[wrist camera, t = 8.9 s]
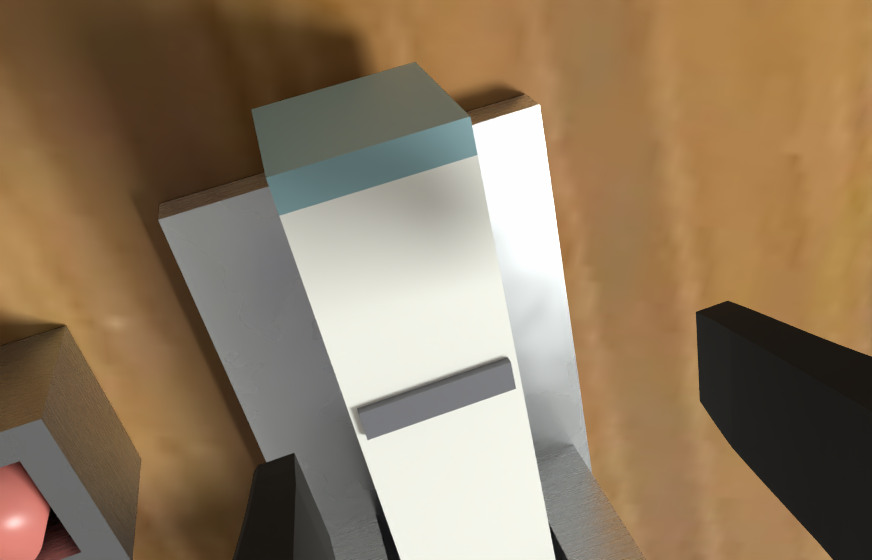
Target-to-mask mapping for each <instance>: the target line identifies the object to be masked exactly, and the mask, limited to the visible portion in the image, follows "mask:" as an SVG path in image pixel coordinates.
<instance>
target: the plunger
mask: <svg viewBox="0 0 872 560" xmlns="http://www.w3.org/2000/svg"><path fill="white" fill-rule="evenodd" d="M50 507H51V506H50V505H49V503H48V502H47V500H46V499H45V497H44V496H43V495H42V493H41V492H40V490H39V489H38V487H37V486H36V484H35V483H34V481H33V480H32V478H31V477H30V475H29V474H28V472H27V471H26V469H25V468H24V467H23V465H22V464H21V462H20V461H19V462H16V463H13V464H10V465H7V466H3V467H0V560H35V558H36V557H37V556H38V554H39V553H40V550H41V548H42V544H43V539H44V535H45V530H46V526H47V521H48V516H49V512H50Z"/></svg>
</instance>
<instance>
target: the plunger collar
mask: <svg viewBox="0 0 872 560" xmlns="http://www.w3.org/2000/svg"><path fill="white" fill-rule="evenodd" d="M19 461H20V462H21V464H22V465H23V467H24V468H25V469H26V471H27V472H28V474H29V475H30V477H31V478H32V480H33V481H34V483H35V484H36V486H37V487H38V489H39V490H40V492H41V493H42V495H43V496H44V497H45V499H46V500H47V502H48V503H49V505H50V506H51V507H50V512H49V516H48V521H47V526H46V530H45V535H44V539H43V544H42V548H41V550H40V553H39V554H38V556H37V557H36V558H35V560H133V548H134V537H135V525H136V514H137V502H138V490H139V479H140V467H141V458H140V456H139V454H138V453H137V451H136V449H135V447H134V445H133V444H132V442H131V440H130V438H129V437H128V435H127V433H126V431H125V429H124V428H123V426H122V424H121V422H120V421H119V419H118V417H117V415H116V413H115V412H114V410H113V408H112V406H111V405H110V403H109V401H108V399H107V398H106V396H105V394H104V392H103V390H102V389H101V387H100V385H99V383H98V382H97V380H96V378H95V376H94V374H93V373H92V371H91V369H90V367H89V366H88V364H87V362H86V360H85V358H84V357H83V355H82V353H81V351H80V350H79V348H78V346H77V344H76V343H75V341H74V339H73V337H72V335H71V334H70V332H69V330H68V328H67V327H66V326H63V327H60V328H57V329H54V330H50V331H47V332H44V333H41V334H38V335H34V336H31V337H28V338H25V339H22V340H19V341H15V342H12V343H9V344H6V345H3V346H0V467H3V466H7V465H10V464H13V463H16V462H19Z"/></svg>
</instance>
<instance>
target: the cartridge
mask: <svg viewBox="0 0 872 560" xmlns="http://www.w3.org/2000/svg"><path fill="white" fill-rule="evenodd" d="M251 111H252V115H253V120H254V125H255V129H256V134H257V139H258V143H259V148H260V153H261V157H262V162H263V167H264V172H265V176H266V180H267V183H268V185H269V188H270V191H271V194H272V197H273V200H274V202H275V205H276V208H277V211H278V214H279V217H280V219H281V222H282V225H283V228H284V231H285V234H286V236H287V239H288V242H289V245H290V248H291V251H292V253H293V256H294V259H295V262H296V265H297V268H298V270H299V273H300V276H301V279H302V282H303V285H304V287H305V290H306V293H307V296H308V299H309V302H310V304H311V307H312V310H313V313H314V316H315V319H316V321H317V324H318V327H319V330H320V333H321V336H322V338H323V341H324V344H325V347H326V350H327V353H328V355H329V358H330V361H331V364H332V367H333V370H334V372H335V375H336V378H337V381H338V384H339V387H340V389H341V392H342V395H343V398H344V401H345V404H346V406H347V409H348V412H349V415H350V418H351V421H352V423H353V426H354V429H355V432H356V435H357V438H358V440H359V443H360V446H361V449H362V452H363V455H364V457H365V460H366V463H367V466H368V469H369V472H370V474H371V477H372V480H373V483H374V486H375V489H376V491H377V494H378V497H379V500H380V503H381V506H382V508H383V511H384V514H385V517H386V520H387V523H388V525H389V528H390V531H391V534H392V537H393V540H394V542H395V545H396V548H397V551H398V554H399V556H400V559H401V560H555V555H554V549H553V544H552V539H551V534H550V529H549V523H548V518H547V513H546V508H545V503H544V497H543V492H542V487H541V482H540V476H539V471H538V466H537V461H536V456H535V450H534V445H533V440H532V435H531V430H530V424H529V419H528V414H527V409H526V404H525V398H524V393H523V388H522V383H521V378H520V372H519V367H518V362H517V357H516V352H515V346H514V341H513V336H512V331H511V326H510V320H509V315H508V310H507V305H506V300H505V294H504V289H503V284H502V279H501V273H500V268H499V263H498V258H497V253H496V247H495V242H494V237H493V232H492V227H491V221H490V216H489V211H488V206H487V201H486V195H485V190H484V185H483V180H482V175H481V169H480V164H479V159H478V154H477V149H476V143H475V138H474V133H473V128H472V123H471V117H470V116H469V115H468V114H467V113H466V112H465V111H464V110H463V109H462V108H461V107H460V106H459V105H458V104H457V103H456V102H455V101H454V100H453V99H452V98H451V97H450V96H449V95H448V94H447V93H446V92H445V91H444V90H443V89H442V88H441V87H440V86H439V85H438V84H437V83H436V82H435V81H434V80H433V79H432V78H431V77H430V76H429V75H428V74H427V73H426V72H425V71H424V70H423V69H422V68H421V67H420V66H419V65H418V64H417V63H416V62H413V63H410V64H406V65H403V66H399V67H396V68H392V69H389V70H385V71H382V72H379V73H375V74H372V75H368V76H365V77H361V78H358V79H354V80H351V81H347V82H344V83H341V84H337V85H334V86H330V87H327V88H323V89H320V90H316V91H313V92H309V93H306V94H302V95H299V96H296V97H292V98H289V99H285V100H282V101H278V102H275V103H271V104H268V105H264V106H261V107H257V108H254V109H251Z"/></svg>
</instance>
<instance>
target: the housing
mask: <svg viewBox="0 0 872 560" xmlns="http://www.w3.org/2000/svg"><path fill="white" fill-rule="evenodd" d="M466 113H467V114H468V115H469V116H470V117H471V123H472V128H473V133H474V138H475V143H476V149H477V154H478V159H479V164H480V169H481V175H482V180H483V185H484V190H485V195H486V201H487V206H488V211H489V216H490V221H491V227H492V232H493V237H494V242H495V247H496V253H497V258H498V263H499V268H500V273H501V279H502V284H503V289H504V294H505V300H506V305H507V310H508V315H509V320H510V326H511V331H512V336H513V341H514V346H515V352H516V357H517V362H518V367H519V372H520V378H521V383H522V388H523V393H524V398H525V404H526V409H527V414H528V419H529V424H530V430H531V435H532V440H533V445H534V450H535V456H536V461H537V466H538V471H539V476H540V482H541V487H542V492H543V497H544V503H545V508H546V513H547V518H548V523H549V529H550V534H551V539H552V544H553V549H554V555H555V560H646V559H645V557H644V556H643V554H642V552H641V551H640V549H639V548H638V546H637V544H636V543H635V541H634V540H633V538H632V537H631V535H630V533H629V532H628V530H627V529H626V527H625V525H624V524H623V522H622V521H621V519H620V518H619V516H618V514H617V513H616V511H615V510H614V508H613V506H612V505H611V503H610V502H609V500H608V498H607V497H606V495H605V494H604V492H603V491H602V489H601V487H600V486H599V484H598V483H597V481H596V479H595V478H594V476H593V475H592V471H591V464H590V457H589V450H588V442H587V435H586V428H585V421H584V414H583V407H582V400H581V393H580V386H579V379H578V372H577V365H576V358H575V351H574V344H573V337H572V329H571V322H570V315H569V308H568V301H567V294H566V287H565V280H564V273H563V266H562V259H561V252H560V245H559V238H558V231H557V224H556V216H555V209H554V202H553V195H552V188H551V181H550V174H549V167H548V160H547V153H546V146H545V139H544V132H543V125H542V118H541V111H540V105H539V104H538V103H537V102H536V101H534V100H533V99H532V98H530V97H529V96H528V95H526V94H525V95H522V96H518V97H515V98H512V99H508V100H505V101H502V102H498V103H495V104H492V105H488V106H485V107H481V108H478V109H475V110H471V111H468V112H466ZM158 221H159V223H160V225H161V228H162V230H163V232H164V234H165V236H166V239H167V241H168V243H169V245H170V248H171V250H172V252H173V254H174V257H175V259H176V261H177V263H178V266H179V268H180V270H181V272H182V274H183V277H184V279H185V281H186V283H187V286H188V288H189V290H190V292H191V295H192V297H193V299H194V301H195V304H196V306H197V308H198V310H199V313H200V315H201V317H202V319H203V321H204V324H205V326H206V328H207V330H208V333H209V335H210V337H211V339H212V342H213V344H214V346H215V348H216V351H217V353H218V355H219V357H220V359H221V362H222V364H223V366H224V368H225V371H226V373H227V375H228V377H229V380H230V382H231V384H232V386H233V389H234V391H235V393H236V395H237V397H238V400H239V402H240V404H241V406H242V409H243V411H244V413H245V415H246V418H247V420H248V422H249V424H250V427H251V429H252V431H253V433H254V436H255V438H256V440H257V442H258V444H259V447H260V449H261V451H262V453H263V456H264V458H265V460H266V462H269V461H272V460H275V459H278V458H280V457H283V456H286V455H289V454H292V453H295V455H296V458H297V460H298V462H299V465H300V467H301V469H302V472H303V474H304V476H305V479H306V481H307V483H308V486H309V488H310V491H311V493H312V495H313V498H314V500H315V502H316V505H317V507H318V509H319V512H320V514H321V516H322V519H323V521H324V524H325V526H326V528H327V531H328V533H329V535H330V539H331V543H332V547H333V551H334V555H335V559H336V560H401V559H400V556H399V554H398V551H397V548H396V545H395V542H394V540H393V537H392V534H391V531H390V528H389V525H388V523H387V520H386V517H385V514H384V511H383V508H382V506H381V503H380V500H379V497H378V494H377V491H376V489H375V486H374V483H373V480H372V477H371V474H370V472H369V469H368V466H367V463H366V460H365V457H364V455H363V452H362V449H361V446H360V443H359V440H358V438H357V435H356V432H355V429H354V426H353V423H352V421H351V418H350V415H349V412H348V409H347V406H346V404H345V401H344V398H343V395H342V392H341V389H340V387H339V384H338V381H337V378H336V375H335V372H334V370H333V367H332V364H331V361H330V358H329V355H328V353H327V350H326V347H325V344H324V341H323V338H322V336H321V333H320V330H319V327H318V324H317V321H316V319H315V316H314V313H313V310H312V307H311V304H310V302H309V299H308V296H307V293H306V290H305V287H304V285H303V282H302V279H301V276H300V273H299V270H298V268H297V265H296V262H295V259H294V256H293V253H292V251H291V248H290V245H289V242H288V239H287V236H286V234H285V231H284V228H283V225H282V222H281V219H280V217H279V214H278V211H277V208H276V205H275V202H274V200H273V197H272V194H271V191H270V188H269V185H268V183H267V180H266V176H265V172H264V173H261V174H258V175H254V176H251V177H248V178H244V179H241V180H238V181H234V182H231V183H228V184H224V185H221V186H218V187H214V188H211V189H208V190H204V191H201V192H198V193H194V194H191V195H188V196H184V197H181V198H178V199H174V200H171V201H168V202H164V203H161V204H160V205H159V215H158Z"/></svg>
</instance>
